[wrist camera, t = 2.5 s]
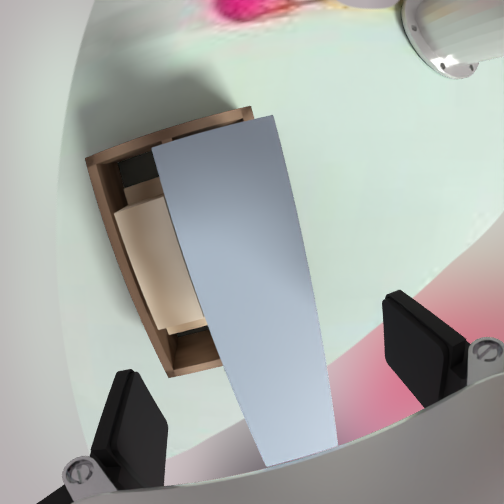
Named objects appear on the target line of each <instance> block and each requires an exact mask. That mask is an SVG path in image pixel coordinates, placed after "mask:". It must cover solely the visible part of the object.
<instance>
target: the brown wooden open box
mask: <svg viewBox="0 0 504 504" xmlns="http://www.w3.org/2000/svg"><path fill="white" fill-rule="evenodd" d="M252 119H254V116H253V112H252V108H251V106H248V107H243V108H239V109H235V110H231V111H226V112H223V113H219V114H215V115H211V116H207V117H204V118H200V119H196V120H193V121H189V122H186V123H183V124H179V125H176V126H173V127H169V128H166V129H163V130H160V131H157V132H154V133H151V134H148V135H145V136H142V137H139V138H136V139H133V140H131V141H128V142H125V143H122V144H120V145H117V146H114V147H112V148H109V149H107V150H104V151H101V152H99V153H96V154H94V155H92V156H89V157H87V158H85V161H86V165H87V168H88V172H89V176H90V179H91V183H92V186H93V190H94V193H95V196H96V200H97V203H98V206H99V209H100V212H101V216H102V219H103V222H104V225H105V228H106V231H107V234H108V237H109V239H110V242H111V245H112V248H113V251H114V253H115V256H116V259H117V262H118V264H119V267H120V270H121V272H122V275H123V277H124V280H125V282H126V285H127V287H128V290H129V292H130V295H131V297H132V300H133V302H134V304H135V307H136V309H137V312H138V314H139V316H140V318H141V321H142V323H143V325H144V328H145V330H146V332H147V334H148V336H149V339H150V341H151V343H152V345H153V347H154V349H155V351H156V353H157V355H158V358H159V360H160V362H161V364H162V366H163V368H164V370H165V372H166V374H167V376H168V378H171V377H176V376H181V375H185V374H190V373H194V372H199V371H203V370H207V369H211V368H216V367H220V366H223V364H222V361H221V359H220V356H219V353H218V351H217V348H216V346H215V343H214V340H213V338H212V335H211V332H210V330H205V331H201V332H198V333H194V334H190V335H186V336H181V337H178V336H177V333H175V334H170V335H169V334H168V331H167V329H166V328H164V329H160V330H158V328H157V326H156V324H155V321H154V319H153V317H152V314H151V312H150V310H149V307H148V305H147V302H146V300H145V297H144V295H143V292H142V290H141V287H140V285H139V282H138V280H137V277H136V275H135V272H134V269H133V267H132V264H131V261H130V259H129V256H128V253H127V250H126V248H125V245H124V242H123V239H122V236H121V233H120V230H119V227H118V224H117V221H116V218H115V215H114V213H116V212H117V211H119V210H121V209H122V208H124V207H126V206H127V205H128V202H127V199H126V196H125V193H124V184H123V181H122V177H121V174H120V170H119V167H118V162H121V161H124V160H127V159H130V158H132V157H135V156H138V155H141V154H144V153H147V152H150V151H152V149H151V148H152V147H155V146H159V145H162V144H165V143H168V142H171V141H174V140H178V139H181V138H184V137H188V136H191V135H194V134H198V133H202V132H205V131H209V130H212V129H216V128H220V127H224V126H228V125H232V124H236V123H240V122H244V121H248V120H252Z"/></svg>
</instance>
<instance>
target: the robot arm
mask: <svg viewBox="0 0 504 504" xmlns="http://www.w3.org/2000/svg"><path fill="white" fill-rule="evenodd" d="M401 15H402V21H403V26H404V29H405V32H406V34H407V36H408V38H409V40H410V42H411V44H412V45H413V47H414V49H415V50H416V52H417V53H418V54H419V55H420V57H421V58H422V59H423V60H424V61H425V62H426V63H427V64H428V65H429V66H430V67H431V68H432V69H434V70H435V71H436V72H438V73H440V74H441V75H443V76H445V77H448V78H451V79H463V78H467V77H469V76H471V75H472V74H474V72H475V71H476V70H477V67H478V65H479V62H482V61H486V60H491V59H495V58H500V57H504V0H404V2H403V5H402V14H401ZM382 309H383V324H384V345H385V359H386V361H387V363H388V365H389V366H390V367H391V368H392V370H393V371H394V372H395V373H396V374H397V375H398V377H399V378H400V379H401V380H402V381H403V383H404V384H405V385H406V386H407V387H408V389H409V390H410V391H411V392H412V393H413V395H414V396H415V397H416V398H417V400H418V401H419V402H420V403H421V404H422V405H423V407H424V409H422V410H420V411H418V412H416V413H415V414H412V415H410V416H408V417H406V418H404V419H402V420H400V421H398V422H396V423H393V424H392V425H389V426H387V427H385V428H382V429H380V430H378V431H375V432H373V433H371V434H368V435H366V436H364V437H361V438H358V439H356V440H353V441H351V442H348V443H345V444H343V445H340V446H337V447H335V448H332V449H329V450H326V451H323V452H320V453H317V454H314V455H311V456H308V457H304V458H301V459H298V460H295V461H291V462H288V463H284V464H280V465H277V466H273V467H269V468H265V469H261V470H257V471H252V472H248V473H244V474H239V475H234V476H229V477H224V478H219V479H213V480H207V481H201V482H194V483H186V484H179V485H171V486H164V475H165V461H166V448H167V437H168V424H167V421H166V419H165V418H164V416H163V414H162V413H161V411H160V409H159V408H158V406H157V404H156V403H155V401H154V399H153V398H152V396H151V394H150V392H149V391H148V389H147V387H146V385H145V383H144V382H143V380H142V378H141V376H140V374H139V373H138V372H134V371H133V370H132V369H128V370H123V371H118V372H117V373H116V375H115V378H114V381H113V384H112V387H111V389H110V392H109V395H108V398H107V401H106V404H105V407H104V410H103V413H102V416H101V419H100V422H99V425H98V428H97V431H96V434H95V437H94V441H93V444H92V447H91V453H90V457H89V456H81V457H77V458H75V459H73V460H72V461H70V462H69V463H68V464H67V465H66V466H65V468H64V471H63V473H62V478H63V482H64V485H63V486H62V487H60V488H59V489H57V490H56V491H54V492H53V493H51V494H50V495H49V496H47V497H46V498H44V499H43V500H42V501H40V502H38V503H37V504H504V343H503V342H502V341H500V340H498V339H496V338H490V337H484V338H480V339H477V340H475V341H474V342H472V343H471V344H470V343H468V342H467V341H466V339H465V338H464V337H463V336H462V335H460V334H459V333H458V332H456V331H455V330H454V329H453V328H451V327H450V326H449V325H447V324H446V323H445V322H443V321H442V320H441V319H439V318H438V317H437V316H435V315H434V314H433V313H431V312H430V311H429V310H427V309H426V308H424V307H423V306H422V305H421V304H419V303H418V302H416V301H415V300H414V299H412V298H411V297H410V296H408V295H407V294H406V293H404V292H403V291H401V290H397V291H395V292H392V293H390V294H387V295H386V297H385V299H384V300H383V301H382Z"/></svg>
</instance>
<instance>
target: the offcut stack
mask: <svg viewBox="0 0 504 504" xmlns="http://www.w3.org/2000/svg"><path fill="white" fill-rule="evenodd" d="M124 193H125V196H126V199H127V202H128V205H127V206H126V207H124V208H122V209H121V210H119V211H117V212H116V213H114V215H115V218H116V221H117V224H118V227H119V230H120V233H121V236H122V239H123V242H124V245H125V248H126V250H127V253H128V256H129V259H130V261H131V264H132V267H133V269H134V272H135V275H136V277H137V280H138V282H139V285H140V287H141V290H142V292H143V295H144V297H145V300H146V302H147V305H148V307H149V310H150V312H151V314H152V317H153V319H154V321H155V324H156V326H157V328H158V330H160V329H164V328H166V329H167V331H168V334H169V335H170V334H175V333H179V332H183V331H187V330H190V329H194V328H198V327H202V326H206V325H208V324H207V322H206V319H205V316H204V313H203V310H202V308H201V305H200V302H199V299H198V296H197V294H196V291H195V288H194V285H193V282H192V279H191V276H190V273H189V270H188V267H187V264H186V261H185V258H184V255H183V252H182V249H181V246H180V243H179V240H178V237H177V234H176V231H175V227H174V224H173V221H172V218H171V214H170V211H169V208H168V205H167V201H166V198H165V195H164V191H163V188H162V184H161V181H160V177H157V178H154V179H151V180H148V181H145V182H142V183H139V184H136V185H133V186H130V187H127V188H124Z"/></svg>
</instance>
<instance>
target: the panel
mask: <svg viewBox="0 0 504 504" xmlns="http://www.w3.org/2000/svg"><path fill="white" fill-rule="evenodd" d="M151 149H152V152H153V156H154V160H155V163H156V167H157V170H158V174H159V177H160V181H161V184H162V188H163V191H164V195H165V198H166V201H167V205H168V208H169V211H170V214H171V218H172V221H173V224H174V227H175V231H176V234H177V237H178V240H179V243H180V246H181V249H182V252H183V255H184V258H185V261H186V264H187V267H188V270H189V273H190V276H191V279H192V282H193V285H194V288H195V291H196V294H197V296H198V299H199V302H200V305H201V308H202V310H203V313H204V316H205V319H206V322H207V324H208V327H209V330H210V332H211V335H212V338H213V340H214V343H215V346H216V348H217V351H218V353H219V356H220V359H221V361H222V364H223V366H224V369H225V371H226V374H227V376H228V379H229V381H230V384H231V386H232V389H233V391H234V394H235V396H236V399H237V401H238V403H239V406H240V408H241V411H242V413H243V415H244V418H245V420H246V422H247V425H248V427H249V429H250V431H251V434H252V436H253V438H254V441H255V442H256V445H257V447H258V450H259V451H260V454H261V456H262V458H263V461H264V463H265V465H266V466H271V465H275V464H279V463H283V462H287V461H290V460H294V459H297V458H301V457H304V456H308V455H311V454H314V453H317V452H320V451H323V450H326V449H329V448H332V447H335V446H338V441H337V433H336V426H335V419H334V412H333V404H332V398H331V391H330V385H329V378H328V372H327V365H326V359H325V353H324V347H323V341H322V336H321V330H320V324H319V319H318V313H317V308H316V302H315V297H314V292H313V287H312V282H311V277H310V272H309V267H308V262H307V257H306V252H305V247H304V242H303V238H302V233H301V228H300V224H299V219H298V215H297V210H296V206H295V202H294V197H293V193H292V189H291V184H290V180H289V176H288V172H287V168H286V163H285V159H284V155H283V151H282V147H281V143H280V139H279V135H278V132H277V128H276V124H275V120H274V116H273V115H271V116H266V117H261V118H257V119H252V120H248V121H244V122H240V123H236V124H232V125H228V126H224V127H220V128H216V129H212V130H209V131H205V132H202V133H198V134H194V135H191V136H188V137H184V138H181V139H178V140H174V141H171V142H168V143H165V144H162V145H159V146H155V147H152V148H151Z"/></svg>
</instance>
